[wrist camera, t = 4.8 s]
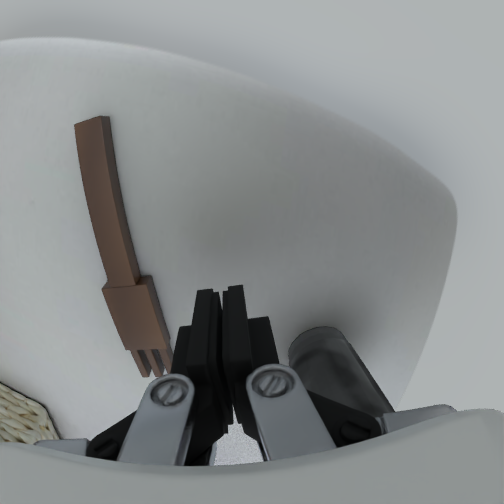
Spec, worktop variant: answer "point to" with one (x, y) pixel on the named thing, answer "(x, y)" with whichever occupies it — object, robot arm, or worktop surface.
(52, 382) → the worktop surface
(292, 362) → the beverage cup
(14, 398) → the basket
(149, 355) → the salad fork
